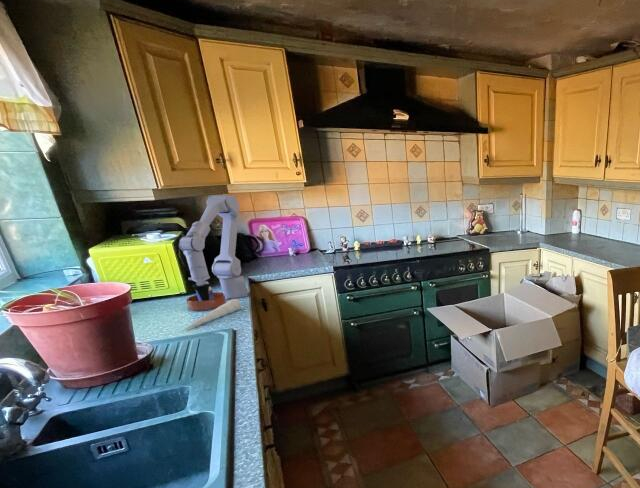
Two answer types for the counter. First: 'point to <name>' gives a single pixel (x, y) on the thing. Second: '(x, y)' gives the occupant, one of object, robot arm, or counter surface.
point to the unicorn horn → (218, 312)
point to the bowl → (206, 302)
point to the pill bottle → (209, 293)
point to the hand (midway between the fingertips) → (206, 298)
